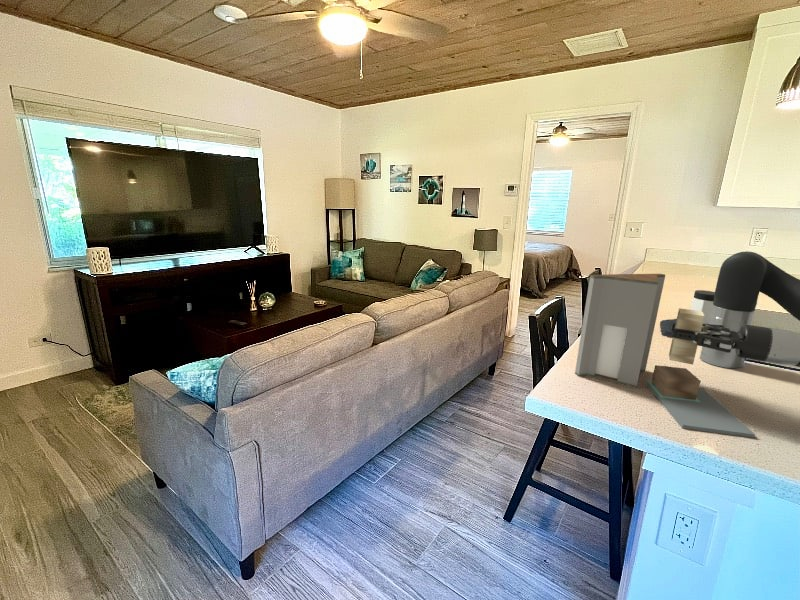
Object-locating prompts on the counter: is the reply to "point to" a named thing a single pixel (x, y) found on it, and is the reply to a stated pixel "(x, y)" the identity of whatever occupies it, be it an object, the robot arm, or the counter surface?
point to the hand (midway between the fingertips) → (673, 329)
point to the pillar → (680, 347)
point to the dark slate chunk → (668, 327)
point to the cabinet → (618, 326)
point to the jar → (703, 303)
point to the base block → (675, 382)
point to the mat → (702, 414)
